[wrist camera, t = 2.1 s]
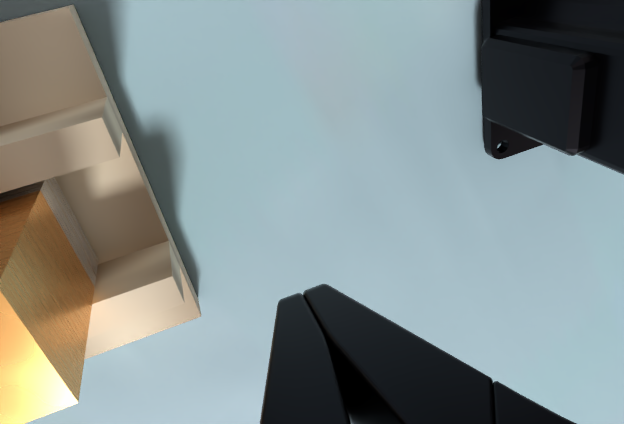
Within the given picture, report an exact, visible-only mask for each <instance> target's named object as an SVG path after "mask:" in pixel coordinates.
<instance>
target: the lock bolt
mask: <svg viewBox="0 0 624 424" xmlns="http://www.w3.org/2000/svg"><path fill="white" fill-rule="evenodd" d="M97 267H98V258H97V256H96V254H95V252H94V250H93V249H92V247H91V245H90V243H89V241H88V239H87V237H86V236H85V234H84V232H83V230H82V228H81V226H80V224H79V222H78V221H77V219H76V217H75V215H74V213H73V211H72V209H71V207H70V206H69V204H68V202H67V200H66V198H65V196H64V194H63V192H62V191H61V189H60V187H59V185H58V183H57V181H56V179H55V178H54V177H53V178H50V179H46V180H43V181H40V182H36V183H33V184H30V185H26V186H23V187H20V188H16V189H13V190H10V191H6V192H3V193H0V424H24V423H27V422H29V421H32V420H35V419H37V418H40V417H42V416H45V415H48V414H50V413H53V412H55V411H58V410H61V409H63V408H66V407H69V406H71V405H74V404H76V403H78V400H79V393H80V386H81V379H82V372H83V365H84V358H85V351H86V344H87V337H88V330H89V323H90V316H91V309H92V302H93V295H94V288H95V281H96V274H97Z"/></svg>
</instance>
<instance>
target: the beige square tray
mask: <svg viewBox="0 0 624 424" xmlns="http://www.w3.org/2000/svg"><path fill="white" fill-rule="evenodd" d="M53 177H54V178H55V179H56V181H57V183H58V185H59V187H60V189H61V191H62V192H63V194H64V196H65V198H66V200H67V202H68V204H69V206H70V207H71V209H72V211H73V213H74V215H75V217H76V219H77V221H78V222H79V224H80V226H81V228H82V230H83V232H84V234H85V236H86V237H87V239H88V241H89V243H90V245H91V247H92V249H93V250H94V252H95V254H96V256H97V258H98V267H97V274H96V281H95V288H94V295H93V302H92V309H91V316H90V323H89V330H88V337H87V344H86V351H85V358H84V359H87V358H90V357H92V356H95V355H98V354H101V353H103V352H106V351H109V350H111V349H114V348H117V347H120V346H122V345H125V344H128V343H130V342H133V341H136V340H139V339H141V338H144V337H147V336H149V335H152V334H155V333H158V332H160V331H163V330H166V329H168V328H171V327H174V326H177V325H179V324H182V323H185V322H187V321H190V320H193V319H196V318H198V317H201V312H200V306H199V301H198V297H197V295H196V293H195V290H194V288H193V286H192V283H191V281H190V278H189V276H188V274H187V271H186V269H185V267H184V264H183V262H182V260H181V257H180V255H179V252H178V250H177V248H176V245H175V243H174V241H173V238H172V236H171V234H170V231H169V229H168V226H167V224H166V222H165V219H164V217H163V215H162V212H161V210H160V208H159V205H158V203H157V200H156V198H155V196H154V193H153V191H152V189H151V186H150V184H149V182H148V179H147V177H146V174H145V172H144V170H143V167H142V165H141V163H140V160H139V158H138V156H137V153H136V151H135V148H134V146H133V144H132V141H131V139H130V137H129V134H128V132H127V129H126V127H125V125H124V122H123V120H122V118H121V115H120V113H119V111H118V108H117V106H116V103H115V101H114V99H113V96H112V94H111V92H110V89H109V87H108V85H107V82H106V80H105V77H104V75H103V73H102V70H101V68H100V66H99V63H98V61H97V59H96V56H95V54H94V51H93V49H92V47H91V44H90V42H89V40H88V37H87V35H86V33H85V30H84V28H83V25H82V23H81V21H80V18H79V16H78V14H77V11H76V9H75V7H74V4H73V5H69V6H65V7H61V8H57V9H52V10H48V11H44V12H40V13H36V14H32V15H28V16H23V17H19V18H15V19H11V20H7V21H3V22H0V193H3V192H6V191H10V190H13V189H16V188H20V187H23V186H26V185H30V184H33V183H36V182H40V181H43V180H46V179H50V178H53Z"/></svg>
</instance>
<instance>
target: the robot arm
mask: <svg viewBox="0 0 624 424" xmlns="http://www.w3.org/2000/svg"><path fill="white" fill-rule="evenodd" d="M482 25H483V45H482V48H481V55H482V113H483V116H484V148H485V152H486V153H487V154H488V155H490V156H492V157H494V158H496V159H503V158H506V157H509V156H512V155H515V154H518V153H520V152H523V151H526V150H529V149H532V148H535V147H538V146H540V145H543V144H544V145H546V146H549V147H551V148H553V149H556V150H558V151H560V152H562V153H565V154H567V155H571V156H574V155H576V154H577V155H579V156H581V157H584V158H586V159H588V160H591V161H593V162H595V163H598V164H600V165H602V166H605V167H607V168H609V169H612V170H614V171H616V172H619V173H621V174H623V175H624V0H482ZM501 141H502V143H501V145H500V147H499V148H497V145H498V144H499V142H501ZM260 424H576V423H574V422H572V421H570V420H568V419H566V418H564V417H562V416H560V415H558V414H556V413H554V412H552V411H550V410H548V409H546V408H545V407H543V406H541V405H539V404H537V403H535V402H533V401H532V400H530V399H528V398H526V397H524V396H522V395H520V394H519V393H517V392H515V391H513V390H512V389H510V388H508V387H506V386H505V385H503V384H501V383H499V382H498V381H495V382H494V383H493V381H492V379H491V378H490V377H488V376H487V375H485V374H483V373H481V372H480V371H478V370H476V369H474V368H473V367H471V366H469V365H467V364H466V363H464V362H462V361H460V360H459V359H457V358H455V357H453V356H452V355H450V354H448V353H446V352H445V351H443V350H441V349H439V348H438V347H436V346H434V345H432V344H431V343H429V342H427V341H425V340H424V339H422V338H420V337H418V336H417V335H415V334H413V333H411V332H410V331H408V330H406V329H404V328H403V327H401V326H399V325H397V324H395V323H394V322H392V321H390V320H388V319H387V318H385V317H383V316H381V315H380V314H378V313H376V312H374V311H373V310H371V309H369V308H367V307H366V306H364V305H362V304H360V303H359V302H357V301H355V300H353V299H352V298H350V297H348V296H346V295H345V294H343V293H341V292H339V291H338V290H336V289H334V288H332V287H331V286H329V285H327V284H321V285H319V286H316V287H313V288H310V289H308V290H305V291H304V293H303V295H302V294H301V293H297V294H294V295H291V296H289V297H286V298H283V299H281V300H280V301H279V302H278V306H277V313H276V319H275V326H274V333H273V339H272V346H271V353H270V359H269V366H268V373H267V379H266V386H265V393H264V399H263V406H262V413H261V419H260Z"/></svg>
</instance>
